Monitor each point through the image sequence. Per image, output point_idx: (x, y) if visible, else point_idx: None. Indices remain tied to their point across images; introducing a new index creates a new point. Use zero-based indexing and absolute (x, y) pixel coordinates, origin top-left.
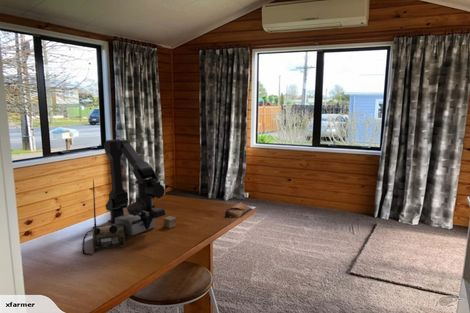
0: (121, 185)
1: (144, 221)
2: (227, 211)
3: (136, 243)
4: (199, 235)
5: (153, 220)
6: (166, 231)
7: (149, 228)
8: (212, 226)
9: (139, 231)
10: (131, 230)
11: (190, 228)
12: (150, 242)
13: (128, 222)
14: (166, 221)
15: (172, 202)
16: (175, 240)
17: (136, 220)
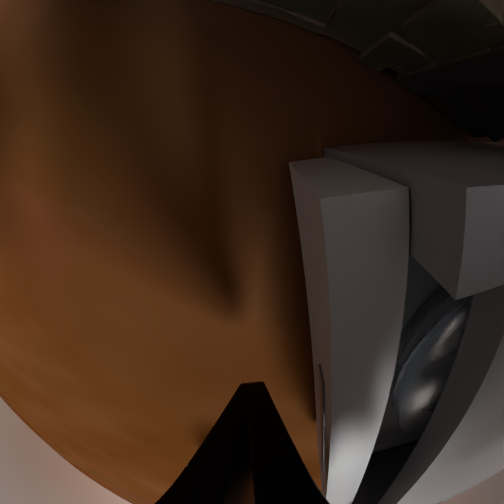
0: None
1: (253, 484)
2: None
3: (49, 110)
4: (58, 440)
5: (323, 491)
6: (185, 437)
7: (316, 408)
8: (137, 496)
9: (307, 299)
10: (331, 164)
11: (157, 480)
12: (16, 239)
13: None
14: None
15: None
16: (17, 365)
17: (446, 424)
